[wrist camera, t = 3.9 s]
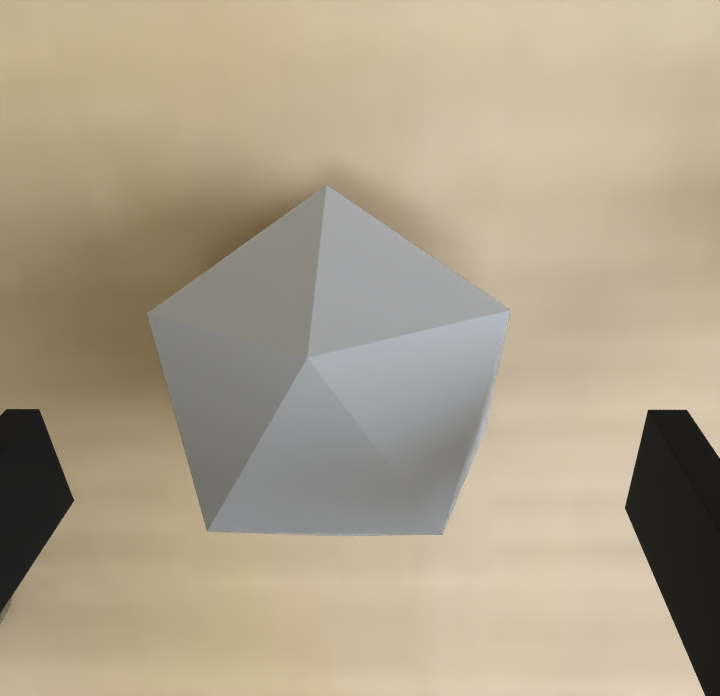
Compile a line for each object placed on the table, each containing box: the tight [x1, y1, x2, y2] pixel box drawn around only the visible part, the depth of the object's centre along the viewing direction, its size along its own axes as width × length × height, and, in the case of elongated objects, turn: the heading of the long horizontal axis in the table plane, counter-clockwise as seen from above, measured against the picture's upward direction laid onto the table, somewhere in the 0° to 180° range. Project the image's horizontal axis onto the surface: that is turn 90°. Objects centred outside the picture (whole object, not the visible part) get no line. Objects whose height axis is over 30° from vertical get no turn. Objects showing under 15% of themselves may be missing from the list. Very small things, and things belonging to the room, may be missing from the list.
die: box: [147, 185, 510, 536], centre depth 16 cm, size 8×9×10 cm
